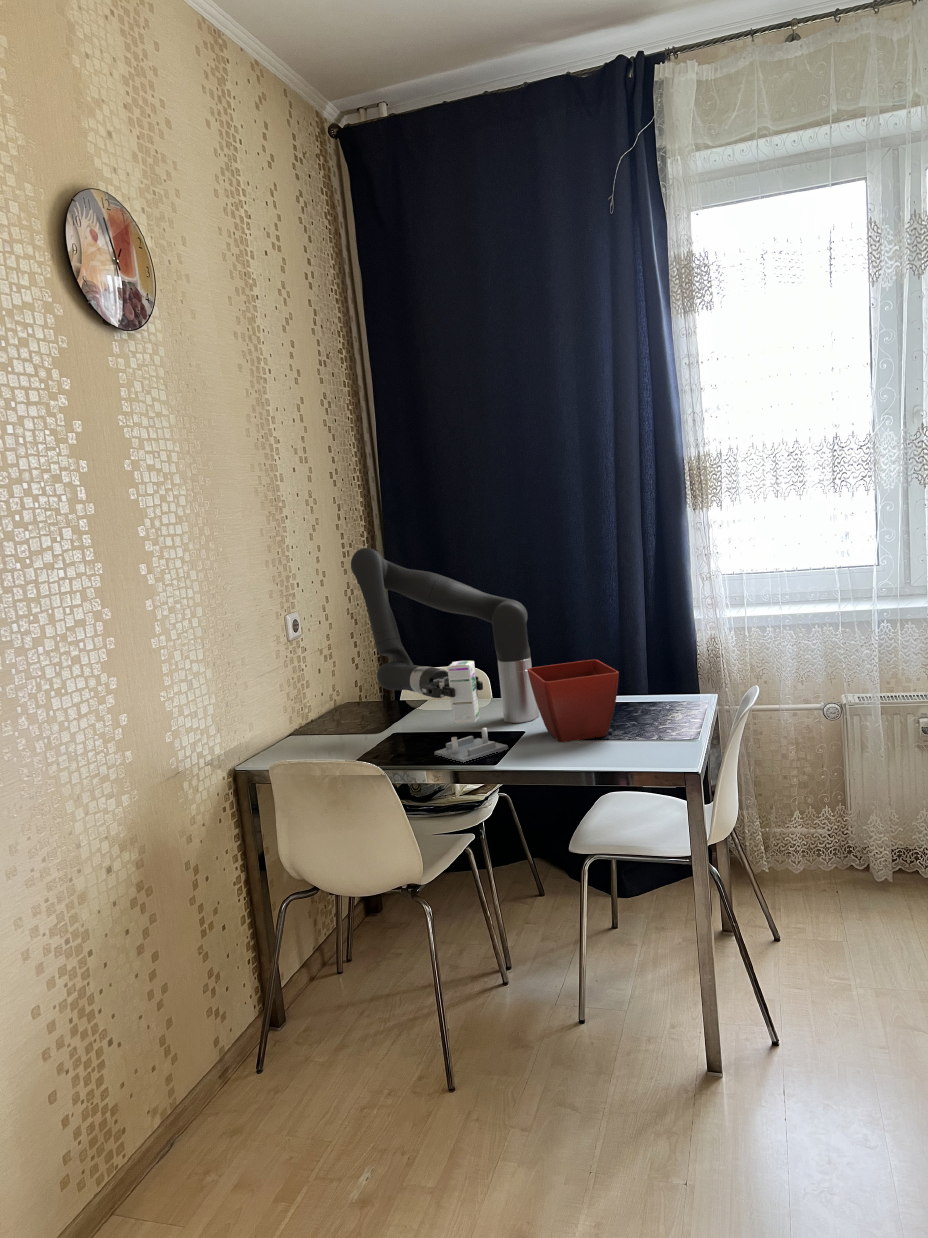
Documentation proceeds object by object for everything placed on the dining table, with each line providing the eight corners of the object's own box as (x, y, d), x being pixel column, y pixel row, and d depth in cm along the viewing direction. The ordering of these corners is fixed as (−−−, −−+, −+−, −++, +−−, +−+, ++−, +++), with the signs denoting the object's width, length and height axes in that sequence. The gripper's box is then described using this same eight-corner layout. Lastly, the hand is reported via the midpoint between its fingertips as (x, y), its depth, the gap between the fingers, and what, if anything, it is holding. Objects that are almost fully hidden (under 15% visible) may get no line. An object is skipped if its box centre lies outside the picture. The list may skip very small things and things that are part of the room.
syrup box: (475, 722, 221) (470, 664, 219) (452, 723, 223) (446, 665, 221) (480, 716, 227) (475, 659, 225) (457, 717, 228) (451, 661, 226)
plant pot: (625, 737, 224) (620, 671, 222) (551, 749, 222) (544, 681, 219) (601, 720, 243) (596, 658, 241) (532, 730, 240) (526, 668, 238)
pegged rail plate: (478, 741, 235) (476, 723, 234) (508, 749, 225) (506, 729, 224) (434, 755, 227) (432, 736, 226) (463, 764, 217) (461, 743, 216)
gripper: (406, 672, 230) (443, 680, 217) (451, 662, 239) (489, 669, 226) (409, 701, 232) (446, 710, 219) (453, 690, 240) (492, 698, 227)
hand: (468, 689), depth 222 cm, fingers closed on syrup box, 8 cm apart
